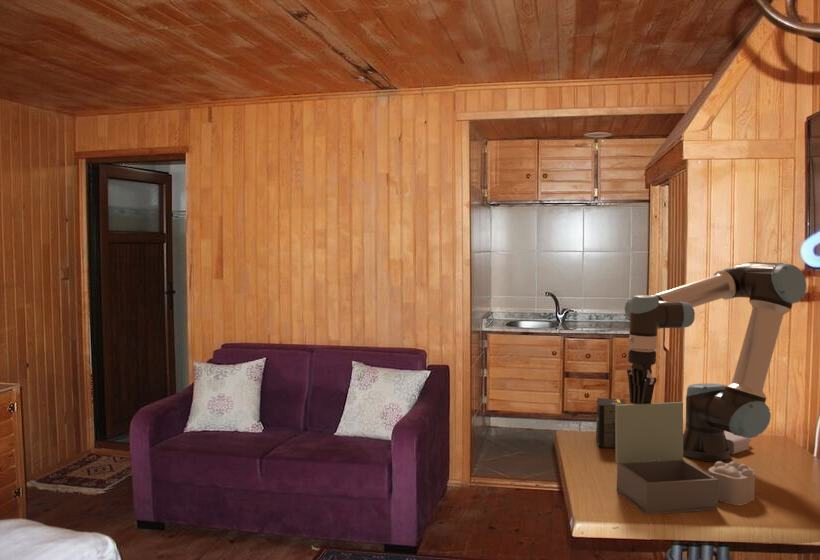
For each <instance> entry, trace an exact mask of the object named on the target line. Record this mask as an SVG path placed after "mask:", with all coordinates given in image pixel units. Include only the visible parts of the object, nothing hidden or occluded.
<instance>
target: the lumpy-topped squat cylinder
mask: <svg viewBox="0 0 820 560" xmlns="http://www.w3.org/2000/svg"><path fill="white" fill-rule="evenodd" d="M707 473H708V474H710V475H711V476H713V477H715V478H716V479H718V501H719V500H722V501H721V502H723V501H725V502H727V503H726V504H728V503H730V504H729V505H731V504H736V505H735V506H739V505H738V504H745V503H748V502H750V501H752V500H753V499H754V500H755V493H756V491H755V489H756V487H755V486H756V472H755V469H753V468H751V467H749V466H748V464H745V463H741V464H740V463H738V462H737V461H735V460H734V461H733V460H732V461H730V462H728V463H725V462H723V461H715V463H714V465H713V466H711V467H709V468H708V471H707ZM754 500H753V501H754ZM753 501H752V502H753ZM725 502H724V503H725ZM750 503H751V502H750ZM748 504H749V503H748ZM745 505H746V504H745Z"/></svg>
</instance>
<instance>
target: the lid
mask: <svg viewBox="0 0 820 560" xmlns="http://www.w3.org/2000/svg"><path fill="white" fill-rule="evenodd" d="M683 434H684V403H683V402H682V401H677V402H675V401H673V402H653V403H652V402H651V403H647V404H633V403H630V404H629V403H625V404H622V405H615V448H614V449H615V463H626V462H643V461H661V460H679V459H684V455H683Z"/></svg>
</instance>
